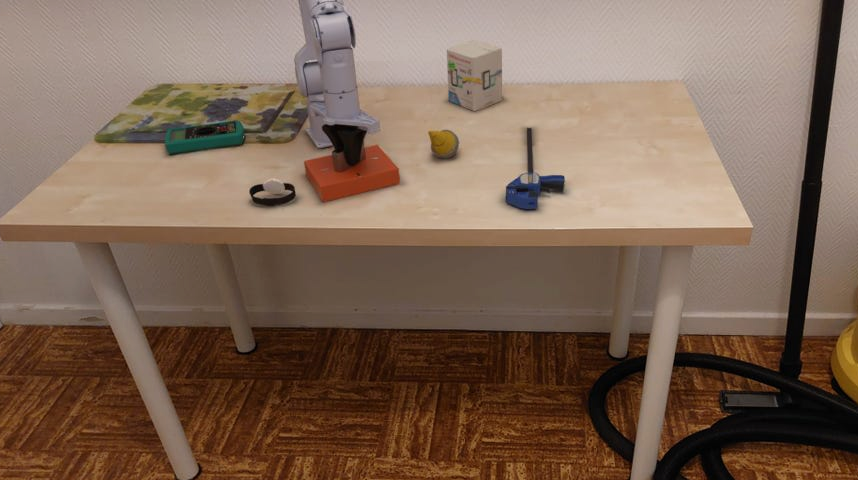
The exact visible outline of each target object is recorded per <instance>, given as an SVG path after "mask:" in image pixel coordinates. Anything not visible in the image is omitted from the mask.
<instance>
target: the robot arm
mask: <svg viewBox="0 0 858 480" xmlns="http://www.w3.org/2000/svg"><path fill="white" fill-rule="evenodd" d="M297 1H298V6H299V13H300V18H301V23H302V28H303V33H304V39H305V43H304V44H303V46H301V48H300V49H298V51H296V53H295V55H294V59H293V62H294V71H295V79H296V84H297V88H298V92H299V94H300V95H301V96H302V97H303V98H306V100H305V101H306V109H307V115H308V122H309V128H306V129H305V132H306V134H307V135H308V137H309V138H310V139H311V141H312V142H313V144H314V145H315V146H316V147H317V149H324V148H328V147H333V149H334V150H335V149H337V148H339V147H341V146H343V145H344V147H345V150H346V156H347V160H348V163H349V165H350V166H353V165H355V164H357V163H359V162H360V156H361V149H362V145H363V141H364V142H365V138H366V136H367V134H368V135H374V134H377V133H378V132H380V131H381V126H380V125H381V123H380V119H377V118H374V117H373V116H371V115H370V114H369V113H367V112H365V111H364V110H362V109H361V105H360V97H359V96H360V95H359V88H358V81H357V73H356V65H355V55H354V54H355V53H354V49H355V48H356V44H357V42H356V41H357V39H356V28H355V23H354V19H353V17H352V15H351V12H350V11H349V8H348V6H347V5H346V4H344V0H297ZM315 60H316V61H315Z"/></svg>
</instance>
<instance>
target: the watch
mask: <svg viewBox="0 0 858 480" xmlns="http://www.w3.org/2000/svg"><path fill="white" fill-rule="evenodd" d="M248 191H249V195H250V198H251V200H252V202H253V203H255V204H256V205H259V206H265V207H275V206H280V205H284V204H288V203H290V202H292V201H293V200H295V199H296V196H297V193H296V188H295V186H294V185H293V184H292V183H288V182H283V181H281V180H279V179H277V178H273V177H271V178H269V179H267V180H266V181H265V182H264V183H259V184H255V185H252V186H251V187H250V188H249V190H248ZM285 191H291V192H290V193H288V194H287V195H284V196H280V197H263V198H262V197H261V198H260V197H257V196H255V195H256V194H258V193H260V192H268V193H269V194H272V195H279V194H282V193H283V192H285Z"/></svg>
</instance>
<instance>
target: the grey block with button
mask: <svg viewBox="0 0 858 480" xmlns="http://www.w3.org/2000/svg"><path fill="white" fill-rule="evenodd" d="M365 147H366V146H365V140H364V141H363V145H362V149H361V156H360V161H362V160H364V159H366V153H365ZM331 155H332V158H333V165H334V170H335V171H338V172H342V171H344V170H346V169H348V168H349V167H351V166H350V165H349V163H348V160H347V156H346V150H345V147H344V145H343V146H341V147H339V148H337V149H335V148H334V149H333V150H331Z"/></svg>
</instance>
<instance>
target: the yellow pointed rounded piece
mask: <svg viewBox="0 0 858 480" xmlns="http://www.w3.org/2000/svg"><path fill="white" fill-rule="evenodd" d="M427 132H428V136H429V140H430V150H431V152H432V154H433V155H434V156H436V157H437V158H439V159H441V160H445V159H447V160H448V159H449V158H451V157H453V156H454V155H455V154H456V153H457V151H458V149H459V146H460V140H459V137H458V136H457V134H456V133H455V132H454V131H453V130H450V129H442V130H428V131H427Z"/></svg>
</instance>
